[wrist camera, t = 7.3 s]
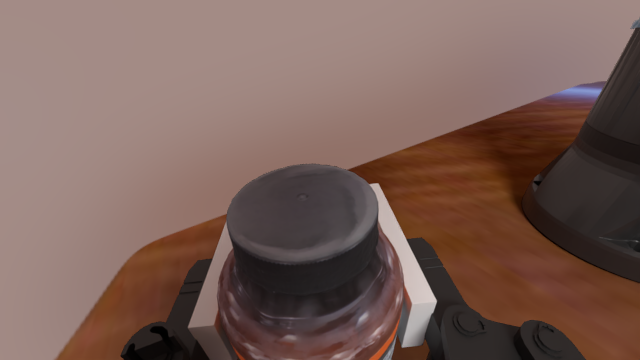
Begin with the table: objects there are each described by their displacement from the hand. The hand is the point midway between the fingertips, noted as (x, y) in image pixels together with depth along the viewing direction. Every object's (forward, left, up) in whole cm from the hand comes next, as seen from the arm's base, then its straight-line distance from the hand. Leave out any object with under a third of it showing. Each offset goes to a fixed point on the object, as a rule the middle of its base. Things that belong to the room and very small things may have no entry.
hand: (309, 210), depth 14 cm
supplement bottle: (0, +5, -7) cm, 9 cm away
